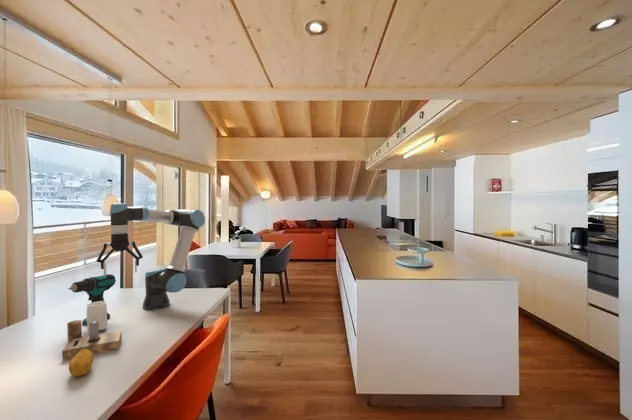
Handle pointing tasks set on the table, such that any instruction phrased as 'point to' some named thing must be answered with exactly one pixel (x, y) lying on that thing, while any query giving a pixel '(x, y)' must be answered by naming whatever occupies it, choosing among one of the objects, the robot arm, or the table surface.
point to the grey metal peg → (93, 331)
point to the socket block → (93, 344)
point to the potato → (81, 363)
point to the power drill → (94, 288)
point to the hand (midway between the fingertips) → (120, 273)
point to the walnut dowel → (74, 329)
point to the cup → (97, 314)
